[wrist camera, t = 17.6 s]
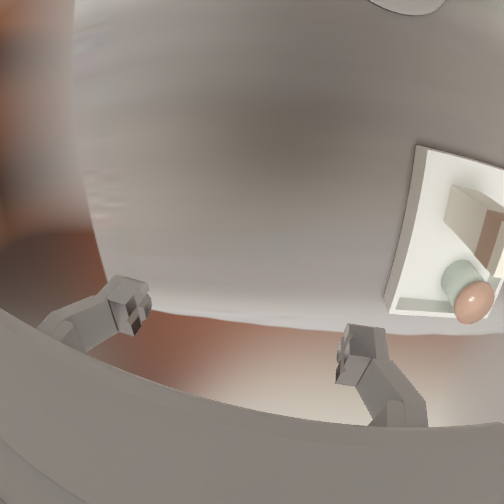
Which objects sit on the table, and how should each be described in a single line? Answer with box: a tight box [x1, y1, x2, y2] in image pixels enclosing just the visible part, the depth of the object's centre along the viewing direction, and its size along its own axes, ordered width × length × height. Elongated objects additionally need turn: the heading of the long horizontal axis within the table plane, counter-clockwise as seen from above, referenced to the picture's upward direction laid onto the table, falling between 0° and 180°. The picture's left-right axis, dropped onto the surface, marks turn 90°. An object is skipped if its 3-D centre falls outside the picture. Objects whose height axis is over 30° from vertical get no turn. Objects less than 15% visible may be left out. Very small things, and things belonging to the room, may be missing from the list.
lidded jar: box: [441, 260, 495, 324], centre depth 33 cm, size 6×6×7 cm
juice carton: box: [444, 185, 504, 278], centre depth 25 cm, size 5×5×14 cm
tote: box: [384, 145, 504, 319], centre depth 33 cm, size 22×18×4 cm
